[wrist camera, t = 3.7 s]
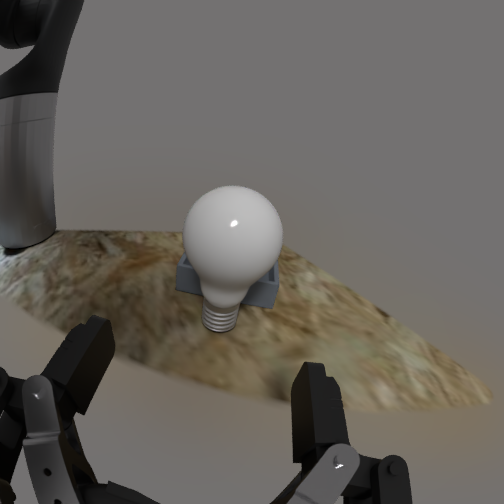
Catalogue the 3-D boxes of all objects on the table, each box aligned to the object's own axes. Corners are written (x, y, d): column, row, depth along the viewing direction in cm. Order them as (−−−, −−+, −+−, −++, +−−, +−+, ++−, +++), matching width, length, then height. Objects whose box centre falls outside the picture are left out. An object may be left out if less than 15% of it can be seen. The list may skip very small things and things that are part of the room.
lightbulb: (264, 313, 23) (297, 190, 18) (246, 367, 18) (288, 217, 13) (196, 292, 24) (211, 169, 19) (163, 337, 18) (167, 187, 13)
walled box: (175, 289, 24) (176, 265, 23) (197, 246, 32) (199, 226, 30) (272, 308, 24) (279, 285, 23) (271, 261, 32) (276, 241, 31)
